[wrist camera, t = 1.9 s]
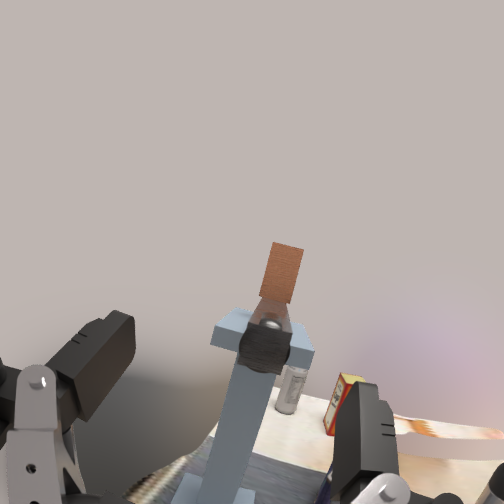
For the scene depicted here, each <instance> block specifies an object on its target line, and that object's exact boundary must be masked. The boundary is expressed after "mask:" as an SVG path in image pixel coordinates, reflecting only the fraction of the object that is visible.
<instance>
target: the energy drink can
mask: <svg viewBox="0 0 504 504" xmlns="http://www.w3.org/2000/svg"><path fill="white" fill-rule="evenodd" d="M307 374H308V370H306V369H302V368H297V367H293V366H288V367H287V370H286V373H285V376H284V379H283V383H282V386H281V389H280V392H279V395H278V398H277V401H276V405H275V406H276V409H277V411H279V412H281V413H283V414H292V413H293V412H294V411H295V410H296V407H297V404H298V401H299V398H300V395H301V392H302V389H303V386H304V383H305V380H306V377H307Z"/></svg>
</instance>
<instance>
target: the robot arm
mask: <svg viewBox="0 0 504 504" xmlns="http://www.w3.org/2000/svg"><path fill="white" fill-rule="evenodd" d="M135 349H136V342H135V320H134V317H132V316H130V315H127V314H124V313H122V312H119V311H117V310H113V311H112V312H111V313H110V314H109V315H108V316H107V317H106V318H105V319H104V320H102V319H100V318H98V319H96V320H94V321H92V322H89V323H88V324H86V325H85V326H84V327H83V328H82V329H81V330H80V331H79V332H78V334H76V335H75V336H74V337H73V338H72V339H71V341H68V342H67V343H66V344H65V345H64V347H63V348H62V349H60V350H59V351H58V352H57V354H55V356H53V357H52V358H51V359H50V360H49V362H48V363H46V364H45V365H44V366H43V365H31V366H28V367H26V368H25V369H23V370H19V369H15V368H11V367H8V366H5V365H3V363H2V360H1V358H0V450H1V448H2V447H3V446H4V444H5V443H6V442H7V444H6V450H7V451H6V452H7V453H6V454H7V482H8V497H9V504H135V503H132V502H130V501H128V500H126V499H124V498H121V497H119V496H117V495H115V494H113V493H111V492H109V491H107V490H106V491H105V492H104V494H103V496H102V495H96V494H86V490H85V487H84V483H83V480H82V478H81V475H80V471H79V466H78V460H77V454H76V447H75V439H74V430H73V424H72V423H73V422H74V421H75V419H76V418H77V417H78V418H79V419H81V420H83V421H85V422H87V421H88V420H89V419H90V417H91V416H92V415H93V413H94V412H95V411H96V409H97V408H98V406H99V405H100V404H101V402H102V401H103V400H104V398H105V397H106V396H107V394H108V393H109V392H110V390H111V389H112V387H113V386H114V384H115V383H116V382H117V381H118V379H119V378H120V377H121V375H122V374H123V373H124V371H125V370H126V368H127V367H128V366H129V365H130V363H131V362H132V360H133V358H134V354H135ZM395 435H396V434H395V427H394V417H393V412H392V410H391V408H390V407H389V405H388V403H387V401H383V400H379V395H378V387H377V385H376V384H370V383H366V382H360V381H355V382H354V384H353V385H352V387H351V389H350V391H349V392H348V394H347V396H346V398H345V399H344V401H343V403H342V404H341V406H340V408H339V410H338V413H337V416H336V421H335V437H334V454H333V468H332V481H331V492H330V500H333V501H340V504H463V502H462V500H461V499H460V498H459V497H458V496H456V495H454V494H452V493H443V494H441V495H439V496H437V497H436V498H435V499H432V498H429V497H426V496H423V495H420V494H417V493H414V492H412V491H411V490H410V488H409V485H408V484H407V482H406V481H405V480H404V479H403V478H402V477H400V475H399V466H398V454H397V444H396V437H395ZM475 504H504V463H502V464H501V465H499V466H498V467H497V469H496V470H495V472H494V473H493V475H492V477H491V479H490V480H489V482H488V484H487V486H486V487H485V489H484V490H483V492H482V494H481V495H480V497H479V498H478V500H477V501H476V503H475Z"/></svg>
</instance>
